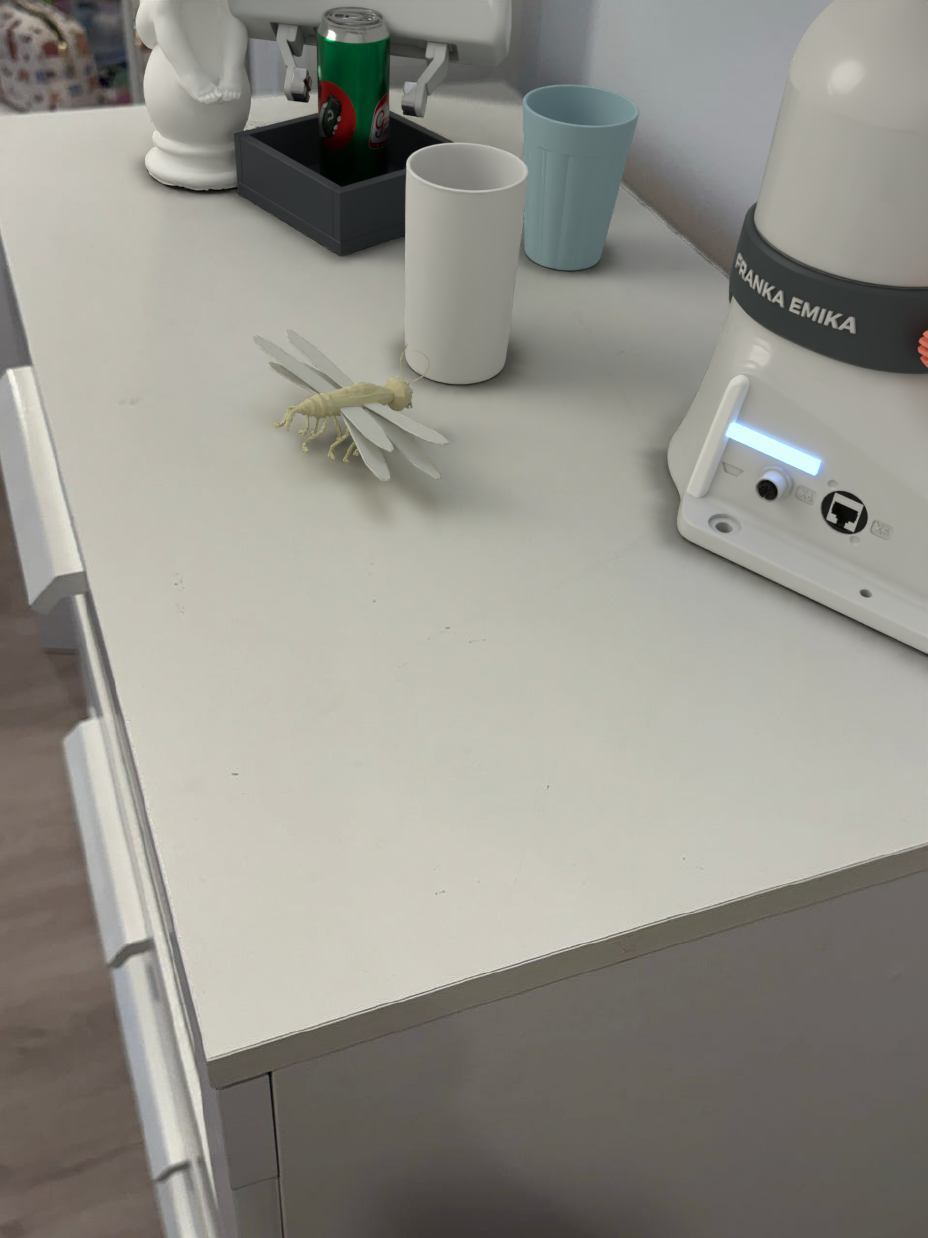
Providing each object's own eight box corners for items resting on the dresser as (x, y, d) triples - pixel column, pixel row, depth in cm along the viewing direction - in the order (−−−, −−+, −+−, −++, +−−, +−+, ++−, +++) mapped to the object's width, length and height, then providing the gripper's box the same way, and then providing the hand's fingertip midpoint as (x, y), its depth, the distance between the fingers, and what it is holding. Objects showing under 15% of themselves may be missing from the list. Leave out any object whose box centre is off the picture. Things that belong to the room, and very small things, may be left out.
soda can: (385, 205, 86) (388, 29, 78) (316, 200, 86) (311, 24, 78) (390, 177, 90) (393, 7, 82) (323, 173, 90) (320, 1, 81)
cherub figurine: (246, 204, 87) (223, -145, 72) (79, 191, 87) (21, -161, 72) (273, 142, 96) (257, -180, 81) (121, 130, 96) (77, -194, 81)
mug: (515, 388, 71) (536, 193, 62) (403, 388, 70) (409, 190, 62) (497, 306, 78) (513, 122, 70) (395, 305, 77) (400, 119, 69)
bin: (473, 212, 88) (478, 152, 85) (340, 256, 82) (339, 193, 79) (368, 156, 95) (369, 99, 92) (237, 193, 88) (233, 132, 85)
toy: (211, 412, 67) (204, 333, 63) (341, 366, 71) (340, 290, 68) (364, 547, 59) (364, 465, 56) (498, 486, 63) (506, 407, 60)
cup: (577, 222, 88) (596, 77, 81) (637, 266, 84) (663, 116, 76) (490, 239, 85) (502, 91, 78) (547, 286, 81) (565, 132, 73)
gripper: (233, -130, 81) (198, 64, 81) (525, -98, 79) (491, 101, 79) (256, -72, 88) (224, 108, 87) (527, -41, 86) (496, 143, 85)
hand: (353, 105), depth 83 cm, fingers open, 7 cm apart
